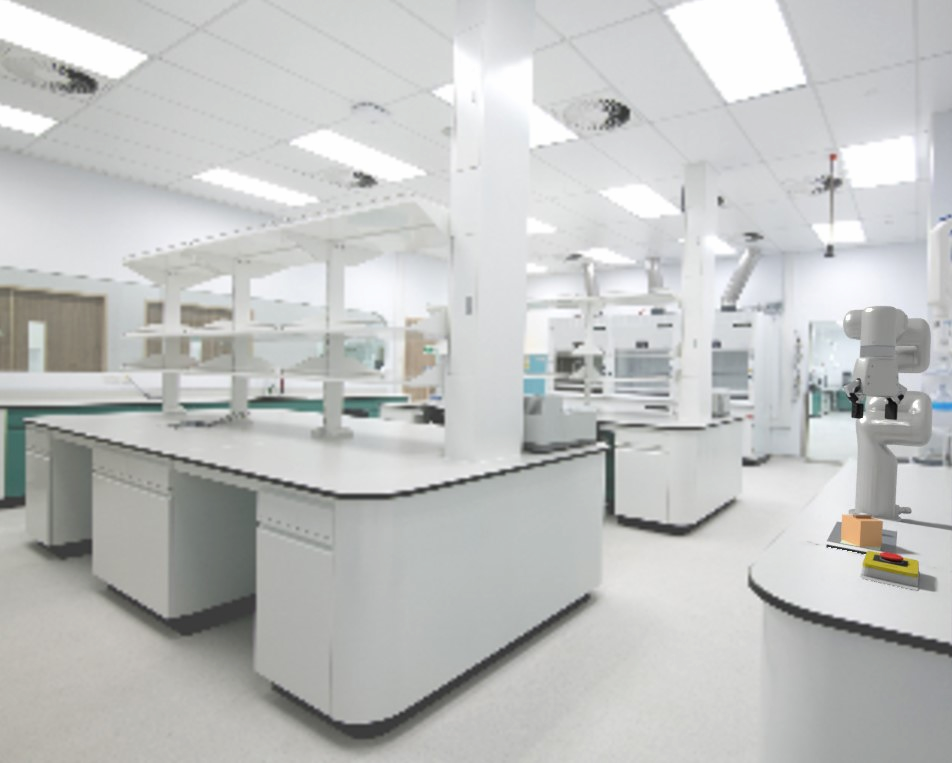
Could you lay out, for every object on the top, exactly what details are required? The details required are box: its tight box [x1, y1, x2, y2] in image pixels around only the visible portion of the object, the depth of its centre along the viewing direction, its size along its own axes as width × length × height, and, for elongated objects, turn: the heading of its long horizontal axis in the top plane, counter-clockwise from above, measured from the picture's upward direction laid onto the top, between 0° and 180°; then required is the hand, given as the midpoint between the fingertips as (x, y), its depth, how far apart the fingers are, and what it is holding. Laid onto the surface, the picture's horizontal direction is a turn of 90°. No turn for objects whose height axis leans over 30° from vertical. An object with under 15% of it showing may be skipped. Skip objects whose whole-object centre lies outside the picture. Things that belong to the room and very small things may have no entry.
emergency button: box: [859, 550, 920, 591], centre depth 113 cm, size 9×4×15 cm
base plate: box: [825, 513, 898, 555], centre depth 136 cm, size 24×13×6 cm, turn 141°
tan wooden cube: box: [841, 514, 884, 548], centre depth 130 cm, size 6×6×7 cm
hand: (873, 418), depth 144 cm, fingers open, 9 cm apart
